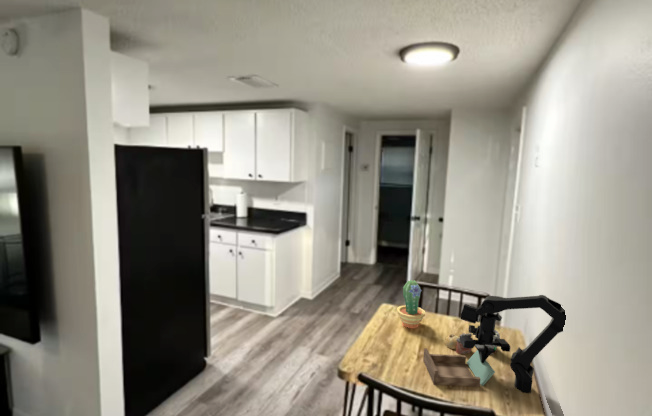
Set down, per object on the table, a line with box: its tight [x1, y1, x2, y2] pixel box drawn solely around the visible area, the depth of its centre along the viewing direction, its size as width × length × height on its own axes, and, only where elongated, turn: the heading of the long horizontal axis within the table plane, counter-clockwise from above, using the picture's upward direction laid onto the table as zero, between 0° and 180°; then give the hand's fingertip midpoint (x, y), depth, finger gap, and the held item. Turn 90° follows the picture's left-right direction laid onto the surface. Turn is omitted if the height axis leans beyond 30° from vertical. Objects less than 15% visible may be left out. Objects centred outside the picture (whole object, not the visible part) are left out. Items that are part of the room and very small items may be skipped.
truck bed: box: [423, 347, 481, 388], centre depth 150 cm, size 18×17×7 cm
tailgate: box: [465, 349, 496, 387], centre depth 150 cm, size 1×16×8 cm
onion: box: [444, 333, 460, 351], centre depth 173 cm, size 8×8×7 cm
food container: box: [491, 329, 501, 355], centre depth 170 cm, size 12×6×10 cm, turn 168°
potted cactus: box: [396, 279, 426, 329], centre depth 196 cm, size 15×15×25 cm
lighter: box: [455, 332, 474, 355], centre depth 167 cm, size 8×3×10 cm, turn 105°
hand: (481, 362), depth 149 cm, fingers closed
